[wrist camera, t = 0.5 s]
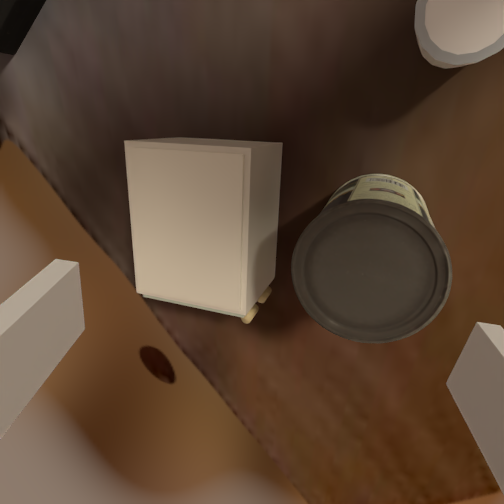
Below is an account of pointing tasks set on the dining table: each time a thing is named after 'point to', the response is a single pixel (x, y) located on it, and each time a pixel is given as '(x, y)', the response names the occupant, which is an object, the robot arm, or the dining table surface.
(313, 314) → the coffee can
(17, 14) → the coral
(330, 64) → the dining table surface
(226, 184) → the cabinet
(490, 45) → the shot glass
